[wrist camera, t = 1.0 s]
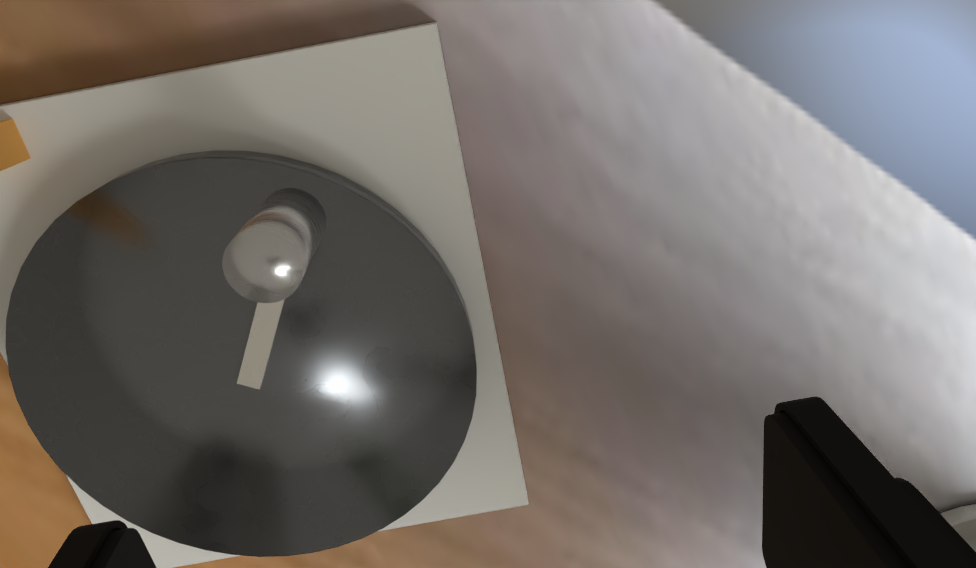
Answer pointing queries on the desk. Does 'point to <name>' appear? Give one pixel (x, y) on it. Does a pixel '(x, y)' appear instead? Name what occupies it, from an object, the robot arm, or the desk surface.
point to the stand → (298, 135)
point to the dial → (243, 353)
